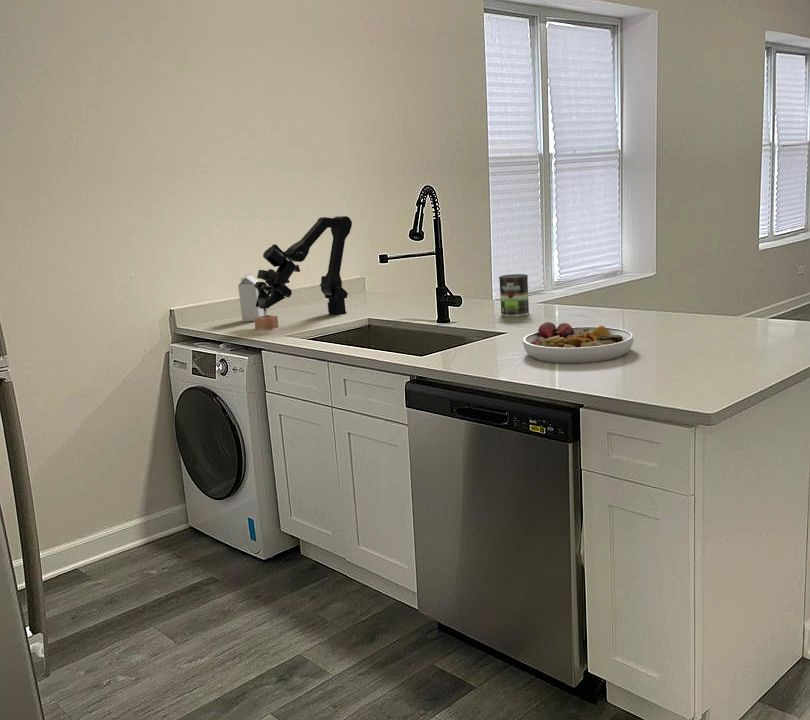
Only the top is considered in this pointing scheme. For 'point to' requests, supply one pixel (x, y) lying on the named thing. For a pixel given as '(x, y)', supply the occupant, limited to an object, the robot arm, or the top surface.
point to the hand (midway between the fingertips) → (261, 307)
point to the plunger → (263, 305)
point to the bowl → (577, 343)
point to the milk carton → (249, 298)
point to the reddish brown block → (266, 322)
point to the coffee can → (514, 295)
